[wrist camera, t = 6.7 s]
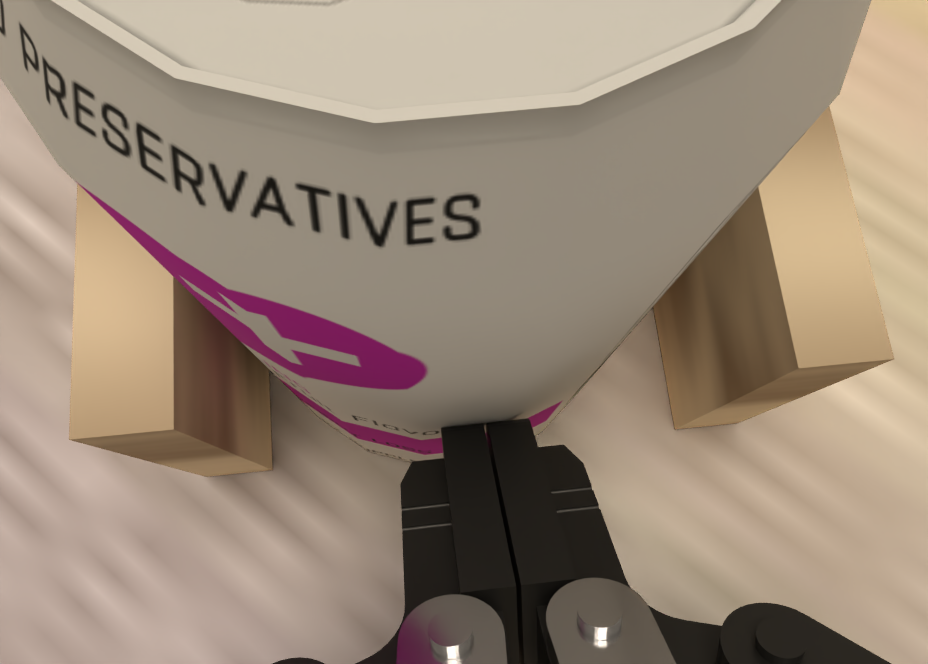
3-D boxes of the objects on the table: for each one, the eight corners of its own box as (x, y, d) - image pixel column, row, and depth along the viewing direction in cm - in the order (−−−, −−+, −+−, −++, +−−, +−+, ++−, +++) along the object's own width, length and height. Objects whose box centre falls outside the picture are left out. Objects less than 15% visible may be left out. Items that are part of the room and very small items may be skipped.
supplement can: (403, 537, 18) (240, 519, 4) (220, 274, 20) (-375, -431, 6) (661, 342, 20) (1250, -205, 5) (470, 112, 21) (519, -786, 7)
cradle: (736, 423, 19) (894, 358, 12) (206, 476, 19) (68, 439, 12) (659, 28, 22) (751, -197, 15) (200, 62, 22) (88, -155, 15)
